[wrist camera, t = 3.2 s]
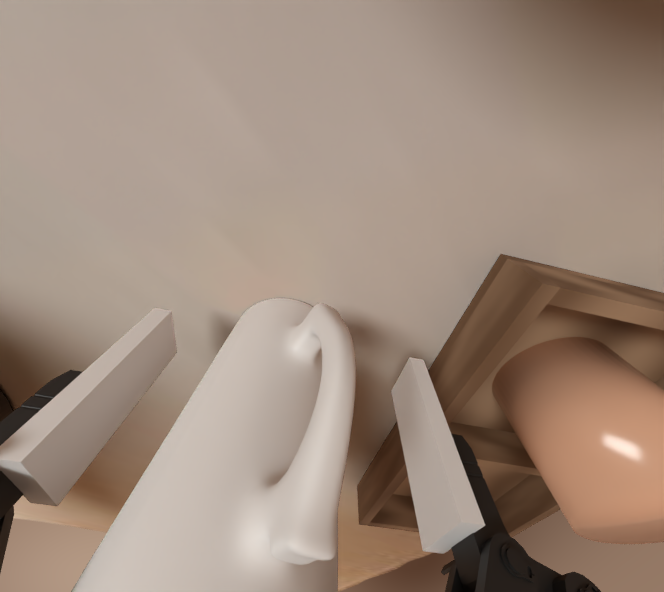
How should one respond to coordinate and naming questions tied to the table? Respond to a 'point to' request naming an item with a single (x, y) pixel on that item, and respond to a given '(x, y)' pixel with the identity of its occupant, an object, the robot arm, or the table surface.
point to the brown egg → (590, 435)
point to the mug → (245, 468)
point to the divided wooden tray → (486, 360)
